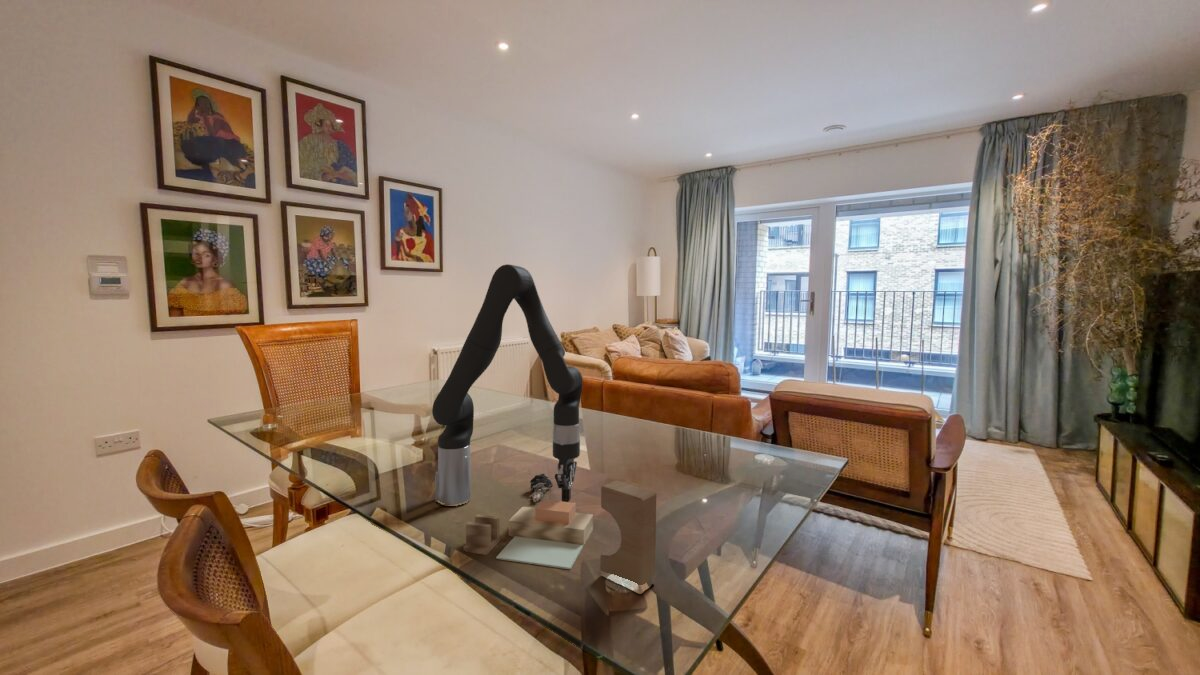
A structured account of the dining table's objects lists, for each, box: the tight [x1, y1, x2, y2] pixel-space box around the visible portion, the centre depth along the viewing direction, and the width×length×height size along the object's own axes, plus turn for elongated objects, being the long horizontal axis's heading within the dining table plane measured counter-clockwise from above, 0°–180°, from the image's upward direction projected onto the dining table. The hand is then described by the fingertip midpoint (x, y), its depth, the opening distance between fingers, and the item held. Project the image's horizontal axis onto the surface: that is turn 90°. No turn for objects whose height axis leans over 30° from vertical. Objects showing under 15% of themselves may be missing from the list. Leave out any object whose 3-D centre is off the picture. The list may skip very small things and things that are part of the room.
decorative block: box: [599, 479, 657, 585], centre depth 99 cm, size 11×6×20 cm, turn 49°
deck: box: [508, 506, 594, 547], centre depth 120 cm, size 20×9×4 cm, turn 76°
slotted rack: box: [463, 513, 503, 556], centre depth 113 cm, size 6×8×6 cm
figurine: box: [528, 473, 553, 504], centre depth 146 cm, size 7×6×15 cm
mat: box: [495, 536, 584, 570], centre depth 110 cm, size 18×10×1 cm, turn 76°
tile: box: [534, 499, 577, 524], centre depth 120 cm, size 9×6×3 cm, turn 76°
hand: (566, 500), depth 129 cm, fingers closed
